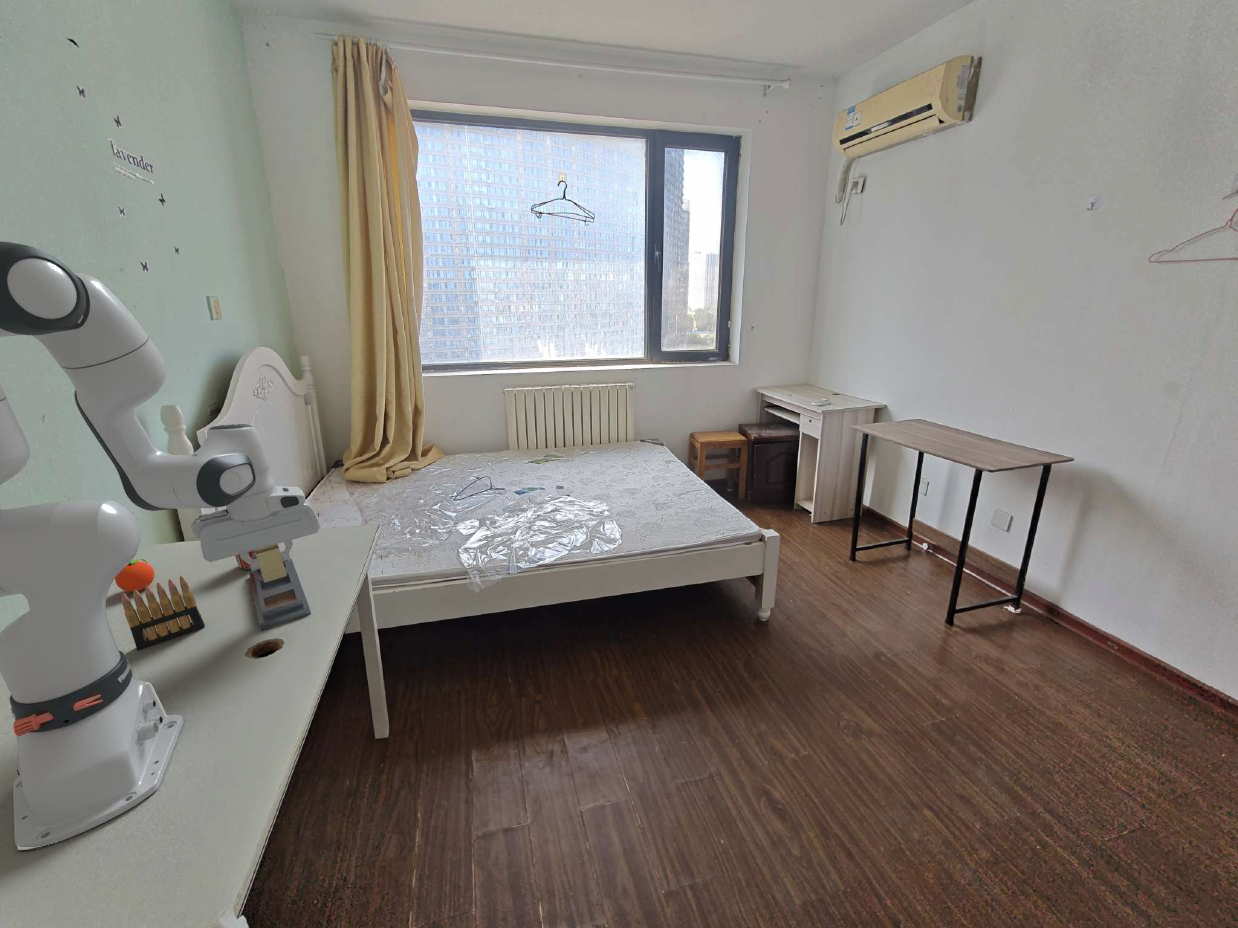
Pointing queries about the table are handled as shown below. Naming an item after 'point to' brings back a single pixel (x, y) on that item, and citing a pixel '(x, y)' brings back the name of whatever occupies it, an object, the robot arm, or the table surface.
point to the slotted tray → (278, 597)
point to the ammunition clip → (162, 615)
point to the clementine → (135, 576)
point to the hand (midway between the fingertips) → (271, 564)
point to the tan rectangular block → (270, 563)
